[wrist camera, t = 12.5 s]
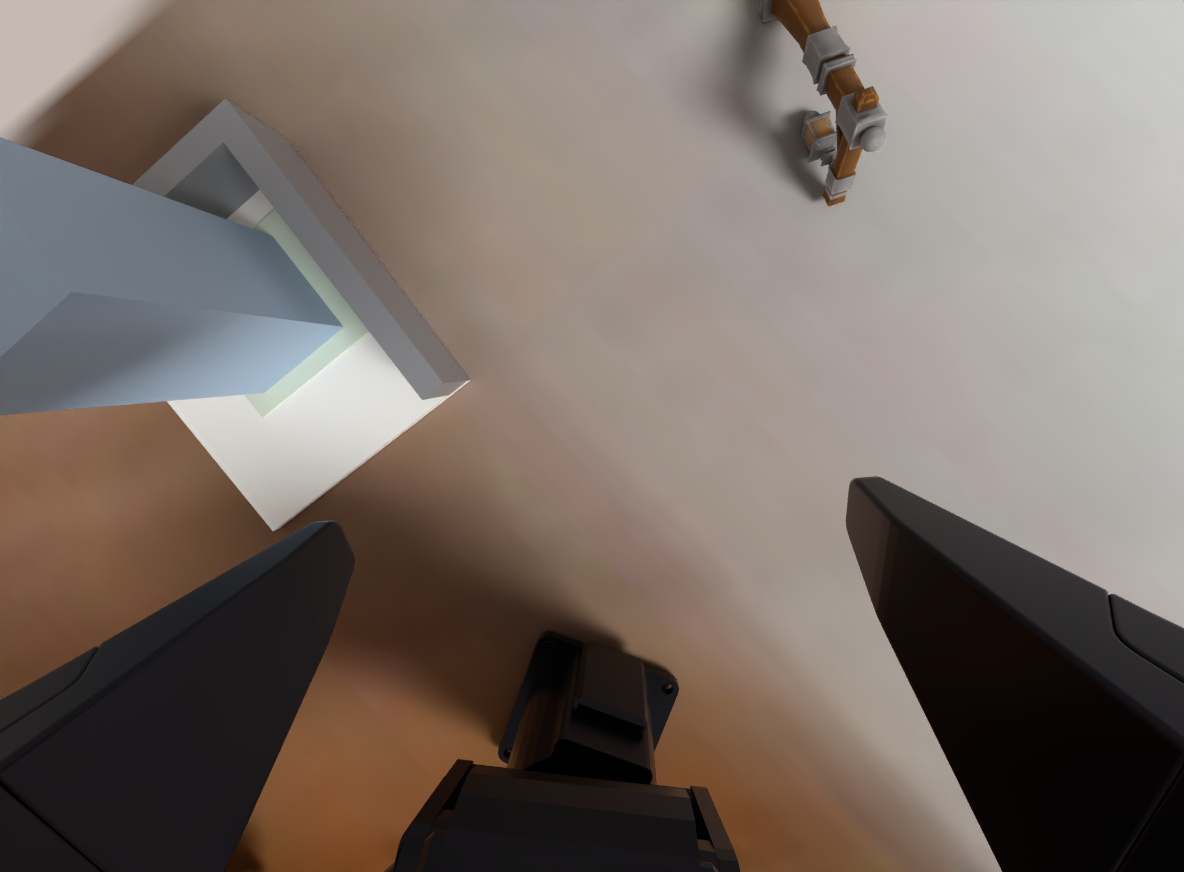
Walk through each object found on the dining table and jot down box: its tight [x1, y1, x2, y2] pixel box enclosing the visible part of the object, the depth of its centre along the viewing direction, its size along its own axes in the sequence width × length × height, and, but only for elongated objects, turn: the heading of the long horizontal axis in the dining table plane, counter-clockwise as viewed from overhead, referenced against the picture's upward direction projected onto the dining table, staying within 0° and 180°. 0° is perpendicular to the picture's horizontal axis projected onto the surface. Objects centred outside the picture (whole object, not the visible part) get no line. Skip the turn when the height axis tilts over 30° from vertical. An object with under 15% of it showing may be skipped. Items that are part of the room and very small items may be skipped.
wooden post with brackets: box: [759, 0, 889, 206], centre depth 19 cm, size 2×8×4 cm, turn 17°
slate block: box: [0, 138, 343, 415], centre depth 17 cm, size 5×4×11 cm
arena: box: [132, 98, 471, 531], centre depth 21 cm, size 12×11×4 cm
